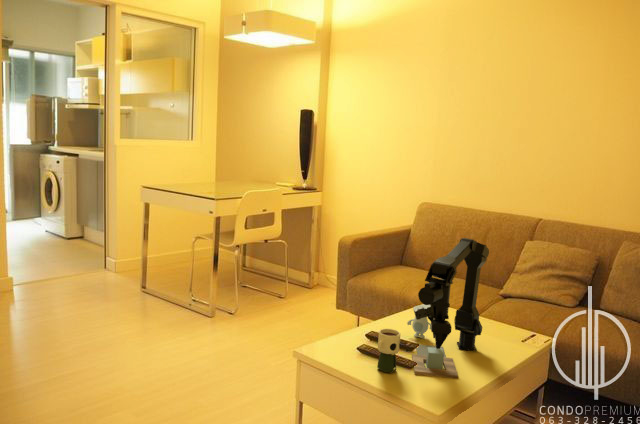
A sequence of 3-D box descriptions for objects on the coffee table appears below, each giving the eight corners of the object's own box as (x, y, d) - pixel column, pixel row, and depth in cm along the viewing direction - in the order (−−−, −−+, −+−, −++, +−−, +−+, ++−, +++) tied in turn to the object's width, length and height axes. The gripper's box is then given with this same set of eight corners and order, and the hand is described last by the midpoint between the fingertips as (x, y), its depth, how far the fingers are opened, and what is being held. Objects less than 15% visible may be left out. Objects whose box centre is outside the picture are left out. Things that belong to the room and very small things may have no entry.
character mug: (386, 378, 173) (389, 339, 171) (368, 371, 177) (371, 333, 175) (404, 368, 181) (407, 331, 179) (386, 361, 185) (389, 325, 183)
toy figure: (403, 336, 210) (406, 306, 208) (408, 331, 215) (411, 302, 213) (430, 342, 205) (433, 312, 203) (434, 337, 210) (437, 307, 209)
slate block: (425, 363, 186) (427, 347, 185) (440, 365, 185) (442, 348, 185) (427, 369, 181) (428, 352, 180) (442, 371, 181) (443, 354, 180)
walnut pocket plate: (411, 356, 191) (412, 354, 191) (452, 360, 189) (452, 358, 189) (414, 373, 177) (414, 371, 177) (457, 378, 176) (458, 375, 176)
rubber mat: (415, 345, 201) (415, 344, 201) (442, 348, 200) (443, 346, 200) (417, 356, 192) (417, 354, 192) (446, 359, 191) (446, 357, 191)
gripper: (414, 288, 190) (410, 331, 192) (417, 305, 171) (413, 352, 174) (446, 291, 189) (442, 334, 191) (453, 308, 170) (449, 355, 173)
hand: (436, 343), depth 182 cm, fingers open, 9 cm apart
